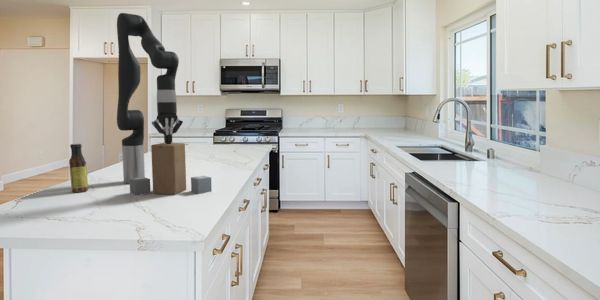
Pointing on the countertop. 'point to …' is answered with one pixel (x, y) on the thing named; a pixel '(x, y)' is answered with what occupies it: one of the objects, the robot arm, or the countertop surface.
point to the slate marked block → (201, 184)
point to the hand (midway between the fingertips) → (168, 143)
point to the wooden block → (168, 168)
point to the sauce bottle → (78, 169)
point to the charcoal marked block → (140, 186)
